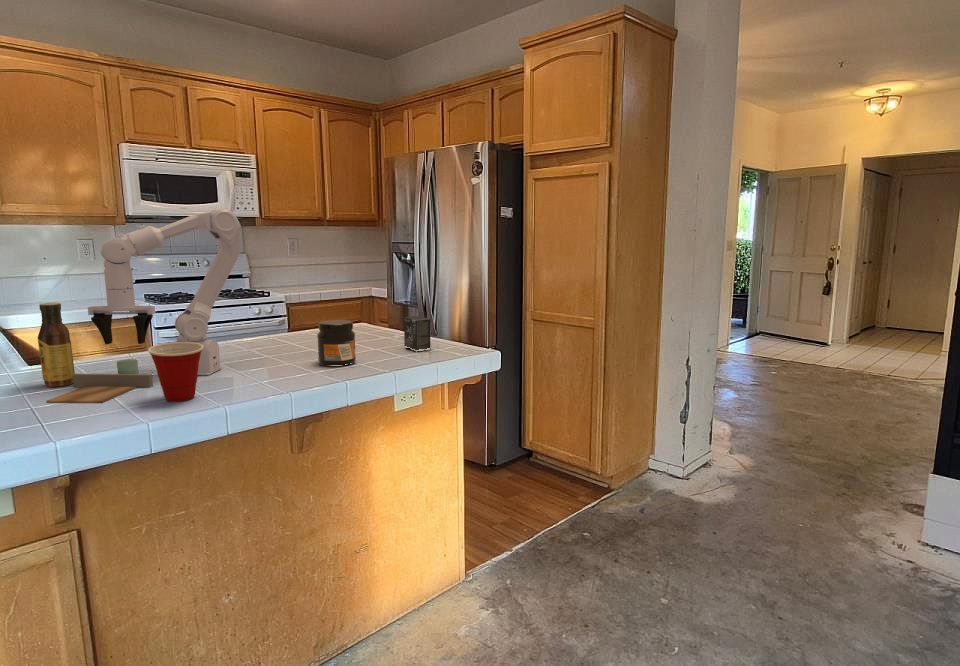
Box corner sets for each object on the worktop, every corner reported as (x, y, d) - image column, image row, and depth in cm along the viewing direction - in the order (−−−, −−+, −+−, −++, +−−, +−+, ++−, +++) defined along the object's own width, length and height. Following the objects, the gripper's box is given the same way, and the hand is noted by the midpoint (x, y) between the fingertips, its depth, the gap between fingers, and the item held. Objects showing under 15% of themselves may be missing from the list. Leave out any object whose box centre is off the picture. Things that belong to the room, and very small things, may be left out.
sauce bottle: (48, 382, 138) (39, 302, 134) (79, 380, 140) (70, 301, 137) (39, 389, 132) (29, 305, 128) (71, 387, 134) (61, 304, 131)
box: (403, 348, 184) (403, 316, 183) (419, 346, 188) (418, 315, 186) (415, 352, 178) (415, 319, 176) (431, 350, 181) (430, 318, 179)
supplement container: (351, 367, 156) (349, 325, 155) (313, 367, 157) (311, 324, 155) (359, 359, 167) (358, 319, 165) (324, 359, 167) (323, 319, 165)
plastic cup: (157, 409, 117) (152, 352, 115) (148, 397, 126) (143, 345, 124) (213, 400, 124) (209, 346, 122) (200, 389, 132) (196, 339, 131)
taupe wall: (153, 386, 135) (152, 374, 135) (150, 387, 134) (149, 375, 134) (77, 385, 135) (76, 373, 135) (74, 387, 134) (72, 374, 133)
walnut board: (135, 388, 133) (135, 386, 133) (102, 402, 121) (102, 401, 121) (84, 388, 133) (84, 386, 133) (46, 402, 121) (46, 400, 121)
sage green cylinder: (142, 378, 143) (141, 359, 142) (132, 382, 138) (130, 363, 138) (125, 378, 143) (123, 359, 142) (114, 382, 138) (112, 362, 137)
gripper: (158, 287, 142) (163, 340, 144) (96, 287, 140) (102, 340, 142) (145, 289, 135) (150, 345, 137) (80, 289, 133) (86, 346, 135)
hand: (125, 343), depth 139 cm, fingers open, 7 cm apart
